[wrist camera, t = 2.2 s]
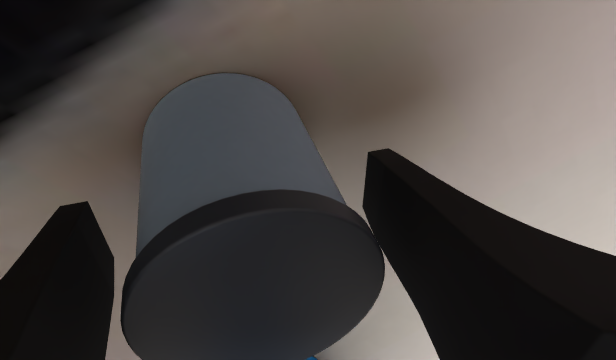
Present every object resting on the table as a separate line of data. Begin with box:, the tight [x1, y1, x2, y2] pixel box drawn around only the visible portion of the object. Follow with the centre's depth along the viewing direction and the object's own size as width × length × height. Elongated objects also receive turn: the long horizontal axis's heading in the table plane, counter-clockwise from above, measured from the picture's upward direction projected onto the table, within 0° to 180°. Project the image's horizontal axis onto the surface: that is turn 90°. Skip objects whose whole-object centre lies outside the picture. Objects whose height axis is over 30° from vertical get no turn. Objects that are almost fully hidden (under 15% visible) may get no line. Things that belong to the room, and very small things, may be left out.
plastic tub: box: [120, 73, 385, 360], centre depth 11 cm, size 5×5×6 cm
